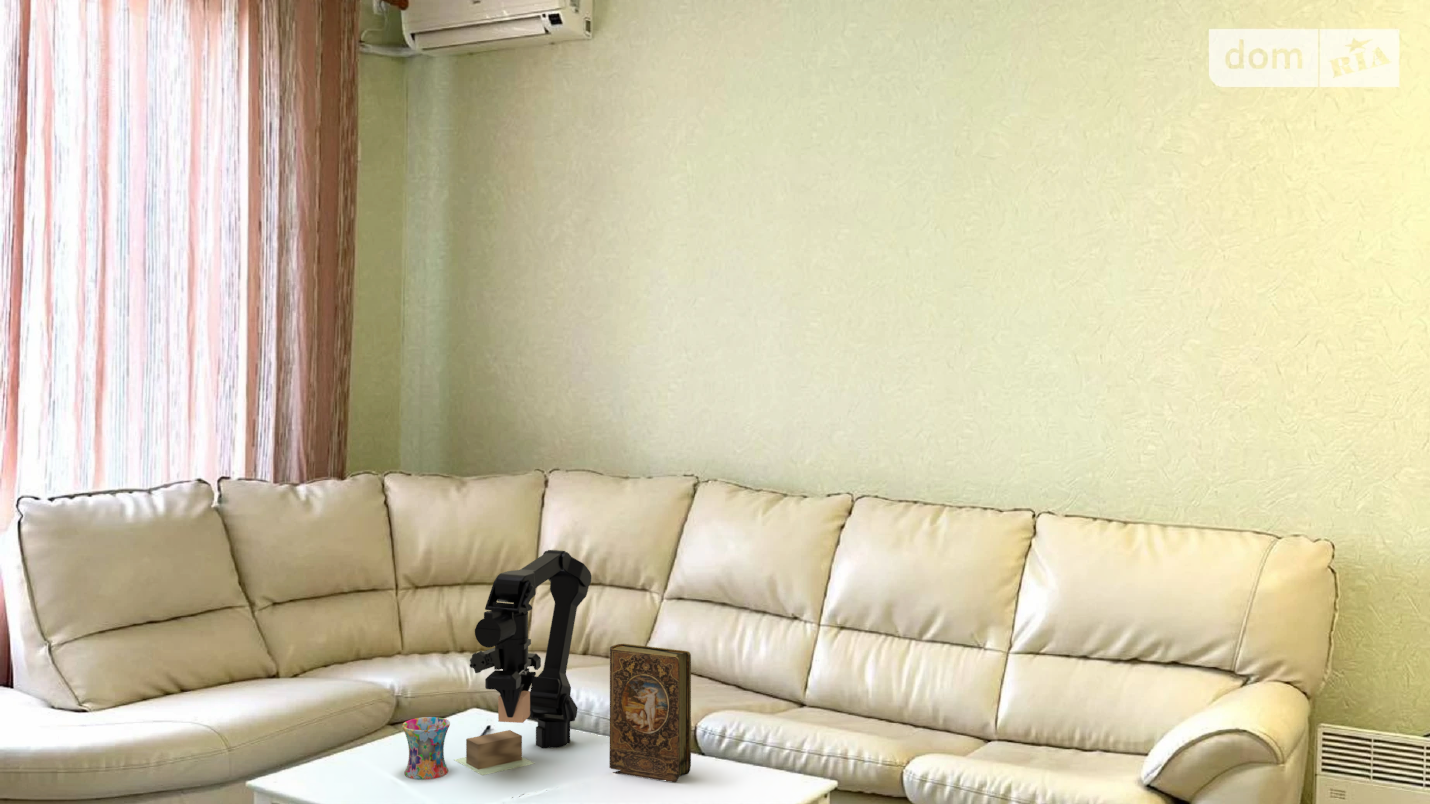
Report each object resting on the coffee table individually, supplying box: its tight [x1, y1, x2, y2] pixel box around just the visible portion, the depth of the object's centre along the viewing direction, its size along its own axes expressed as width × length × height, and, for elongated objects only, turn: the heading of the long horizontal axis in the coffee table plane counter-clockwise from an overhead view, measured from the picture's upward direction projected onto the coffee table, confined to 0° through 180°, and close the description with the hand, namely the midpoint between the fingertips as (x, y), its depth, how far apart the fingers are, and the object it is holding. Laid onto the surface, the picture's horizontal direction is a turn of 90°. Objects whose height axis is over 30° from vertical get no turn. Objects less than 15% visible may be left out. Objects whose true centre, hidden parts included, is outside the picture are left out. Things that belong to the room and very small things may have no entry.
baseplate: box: [454, 756, 536, 776], centre depth 269 cm, size 12×12×1 cm
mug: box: [401, 716, 451, 781], centre depth 263 cm, size 12×9×11 cm
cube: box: [497, 690, 531, 724], centre depth 264 cm, size 5×5×5 cm
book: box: [609, 643, 692, 783], centre depth 264 cm, size 16×6×25 cm, turn 65°
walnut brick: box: [465, 729, 523, 769], centre depth 269 cm, size 10×5×5 cm, turn 128°
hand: (514, 713), depth 264 cm, fingers closed on cube, 5 cm apart
